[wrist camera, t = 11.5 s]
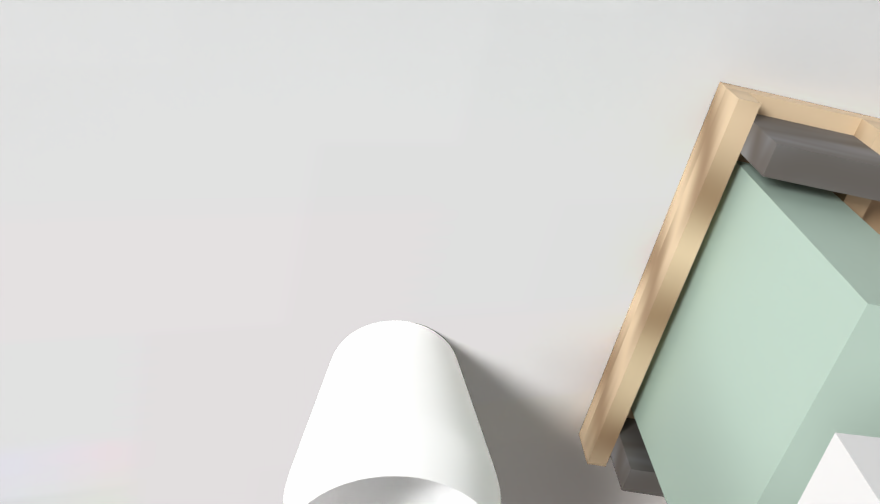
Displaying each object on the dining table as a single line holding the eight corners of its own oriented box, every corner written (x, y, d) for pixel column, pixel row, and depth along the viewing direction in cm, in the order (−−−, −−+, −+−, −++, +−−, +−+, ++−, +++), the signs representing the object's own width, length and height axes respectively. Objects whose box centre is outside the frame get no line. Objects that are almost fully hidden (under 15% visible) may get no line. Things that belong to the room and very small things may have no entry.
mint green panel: (735, 160, 37) (867, 303, 26) (818, 177, 38) (980, 325, 27) (629, 405, 43) (703, 599, 33) (702, 417, 44) (797, 612, 33)
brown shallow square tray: (719, 81, 36) (772, 128, 31) (1123, 174, 39) (1231, 230, 34) (578, 433, 45) (601, 514, 40) (914, 487, 48) (975, 569, 43)
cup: (512, 334, 42) (550, 514, 31) (436, 460, 46) (447, 658, 35) (345, 271, 40) (326, 442, 29) (280, 409, 44) (241, 603, 33)
